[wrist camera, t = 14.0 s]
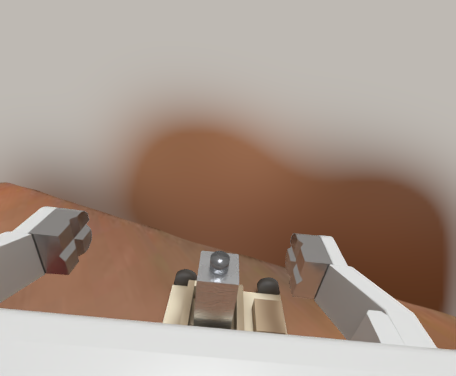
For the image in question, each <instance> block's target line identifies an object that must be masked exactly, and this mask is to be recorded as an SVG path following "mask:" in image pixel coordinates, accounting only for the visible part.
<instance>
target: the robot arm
mask: <svg viewBox="0 0 456 376" xmlns="http://www.w3.org/2000/svg"><path fill="white" fill-rule="evenodd" d="M88 221H89V217H88V213H87V212H85V211H80V210H72V209H65V208H56V207H47V206H46V207H42V208H40V209H39V210H38V211H37V212H36V213H34V214H33V215H32V216H31V217H29V218H28V219H27V220H26V221H24V222H23V223H22V224H21V225H20V226H18V227H17V228H16V229H15V230H13V231H12V232H5V233H2V234H0V303H1V302H2V301H4V300H5V299H7V298H8V297H10V296H12V295H13V294H15V293H16V292H18V291H19V290H21V289H23V288H24V287H26V286H27V285H29V284H30V283H32V282H34V281H35V280H37V279H38V278H40V277H41V276H43V275H45V273H50V274H64V275H69V274H70V273H71V271H72V270H73V269H74V267H75V266H76V264H77V263H78V262H79V260H78V256H80V255H82V254H84V253H85V252H86V251H87V249H88V248H89V246H90V243H91V240H92V232H91V229H90V228H89V227H88V226H87V225H86V224H87V222H88ZM290 242H291V246H292V247H290V248H289V249H288V250H287V254H286V262H285V263H286V271H287V274H288V275H289V276H290V281H289V284H290V288H291V293H292V297H300V298H308V299H315V300H314V301H315V302H316V303H317V304H318V305H319V307H320V308H321V309H322V310H323V311H324V313H325V314H326V315H327V316H328V317H329V319H330V320H331V321H332V322H333V323H334V325H335V326H336V327H337V328H338V329H339V331H340V332H341V333H342V334H343V335H344V337H345V338H346V339H347V340H340V339H329V338H319V337H308V336H297V335H286V334H275V333H265V332H254V331H243V330H232V329H221V328H210V327H200V326H189V325H178V324H167V323H156V322H145V321H134V320H124V319H113V318H102V317H91V316H80V315H69V314H58V313H48V312H37V311H26V310H15V309H4V308H0V376H456V350H449V349H438V348H437V347H436V346H435V344H434V343H433V341H432V340H431V338H430V337H429V335H428V334H427V332H426V331H425V329H424V328H423V326H422V325H421V323H420V322H419V320H418V319H417V317H416V316H415V314H414V313H412V312H411V311H410V310H409V309H407V308H406V307H405V306H403V305H402V304H401V303H399V302H398V301H397V300H395V299H394V298H393V297H391V296H390V295H389V294H387V293H386V292H384V291H383V290H382V289H381V288H379V287H378V286H377V285H375V284H374V283H373V282H371V281H370V280H369V279H367V278H366V277H365V276H363V275H362V274H361V273H359V272H358V271H357V270H355V269H354V268H353V267H349V266H348V265H347V264H346V262H345V260H344V258H343V256H342V254H341V252H340V250H339V249H338V247H337V245H336V243H335V241H334V239H333V238H332V237H331V236H315V235H304V234H295V233H294V234H293V235H292V237H291V240H290Z"/></svg>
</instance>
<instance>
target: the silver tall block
mask: <svg viewBox="0 0 456 376" xmlns="http://www.w3.org/2000/svg"><path fill="white" fill-rule="evenodd" d="M238 288H239V256H238V254H229V253H225V252H223V251H216V252H208V251H201V257H200V263H199V269H198V276H197V283H196V296H195V310H194V323H193V326H200V327H210V328H221V329H231V324H232V319H233V314H234V309H235V303H236V298H237V293H238Z"/></svg>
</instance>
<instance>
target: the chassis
mask: <svg viewBox="0 0 456 376" xmlns="http://www.w3.org/2000/svg"><path fill="white" fill-rule="evenodd" d="M196 283H197V275H196V274H195V273H194V272H193V271H191V270H187V269H184V270H180V271H178V272H177V274H176V277H175V281H174V285H173V286H172V289H171V293H170V297H169V301H168V305H167V308H166V312H165V316H164V320H163V323H167V324H178V325H189V326H193V323H194V310H195V296H196ZM257 289H258V293H253V292H243V285H239V288H238V293H237V298H236V303H235V309H234V314H233V319H232V324H231V329H232V330H243V331H254V332H265V333H275V334H286V335H287V330H286V324H285V319H284V313H283V308H282V302H281V297H280V295H279V293H280V291H279V286H278V282H277V281H276V280H275V279H273V278H263V279H261V280H260V281H259V282H258V283H257Z"/></svg>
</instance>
